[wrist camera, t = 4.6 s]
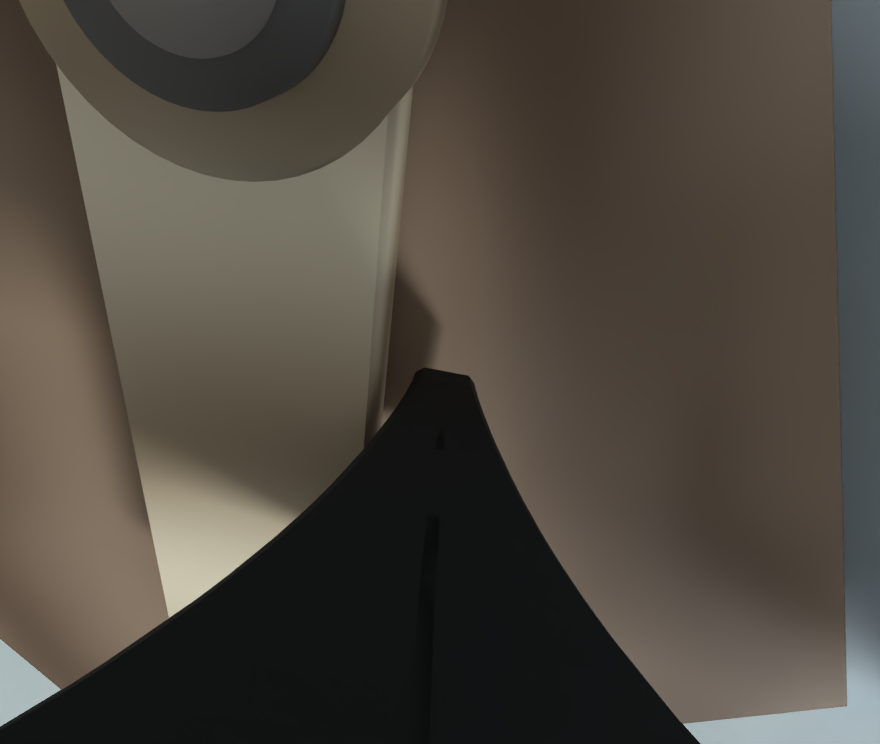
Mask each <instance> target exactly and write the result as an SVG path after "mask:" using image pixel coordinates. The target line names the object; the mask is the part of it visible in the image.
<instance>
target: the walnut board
mask: <svg viewBox="0 0 880 744" xmlns="http://www.w3.org/2000/svg"><path fill="white" fill-rule="evenodd" d="M424 367H425V368H431V369H436V370H441V371H447V372H452V373H457V374H463V375H468V376H470V378H471V379H472V381H473V382H474V384H475V388H476V392H477V395H478V398H479V401H480V404H481V407H482V410H483V413H484V416H485V418H486V421H487V423H488V426H489V428H490V431H491V433H492V436H493V438H494V440H495V443H496V445H497V447H498V449H499V452H500V454H501V456H502V458H503V460H504V462H505V464H506V466H507V469H508V471H509V473H510V475H511V477H512V479H513V481H514V483H515V485H516V487H517V489H518V491H519V493H520V495H521V497H522V499H523V501H524V502H525V504H526V506H527V508H528V510H529V511H530V513H531V515H532V517H533V519H534V520H535V522H536V524H537V526H538V527H539V529H540V531H541V533H542V534H543V536H544V538H545V539H546V541H547V543H548V544H549V546H550V548H551V549H552V551H553V552H554V554H555V556H556V557H557V559H558V560H559V562H560V564H561V565H562V567H563V568H564V570H565V571H566V573H567V574H568V576H569V577H570V579H571V580H572V582H573V583H574V585H575V586H576V588H577V589H578V591H579V592H580V594H581V595H582V596H583V598H584V599H585V601H586V602H587V603H588V605H589V606H590V608H591V609H592V610H593V612H594V613H595V614H596V616H597V617H598V619H599V620H600V621H601V623H602V624H603V626H604V627H605V628H606V630H607V631H608V632H609V634H610V635H611V637H612V638H613V639H614V640H615V642H616V643H617V644H618V645H619V647H620V648H621V649H622V650H623V652H624V653H625V654H626V655H627V656H628V658H629V659H630V660H631V661H632V663H633V664H634V665H635V666H636V668H637V669H638V670H639V671H640V673H641V674H642V675H643V676H644V677H645V679H646V680H647V681H648V682H649V684H650V685H651V686H652V687H653V689H654V690H655V691H656V692H657V694H658V695H659V696H660V697H661V699H662V700H663V701H664V702H665V703H666V705H667V706H668V707H669V708H670V710H671V711H672V712H673V713H674V715H675V716H676V717H677V718H678V719H679V721H680V722H681V723H682V724H684V723H693V722H702V721H712V720H721V719H730V718H740V717H749V716H759V715H768V714H777V713H787V712H796V711H805V710H815V709H824V708H834V707H843V706H847V681H846V638H845V594H844V550H843V506H842V462H841V418H840V374H839V330H838V286H837V242H836V198H835V154H834V110H833V66H832V23H831V0H448V2H447V8H446V14H445V18H444V21H443V25H442V28H441V32H440V35H439V39H438V41H437V44H436V46H435V48H434V51H433V53H432V55H431V58H430V60H429V62H428V63H427V65H426V67H425V69H424V70H423V72H422V74H421V76H420V77H419V79H418V80H417V82H416V83H415V84H414V85H413V92H412V103H411V114H410V125H409V135H408V146H407V157H406V168H405V179H404V190H403V200H402V211H401V222H400V233H399V244H398V255H397V265H396V276H395V287H394V298H393V309H392V320H391V331H390V341H389V352H388V363H387V374H386V385H385V396H384V406H383V417H382V425H383V424H384V423H385V422H386V420H387V419H388V418H389V417H390V415H391V414H392V412H393V411H394V409H395V408H396V407H397V405H398V404H399V402H400V401H401V399H402V398H403V396H404V394H405V393H406V391H407V389H408V388H409V386H410V384H411V382H412V380H413V377H414V374H415V372H417V371H418V370H420V369H422V368H424ZM168 618H169V616H168V611H167V606H166V601H165V596H164V591H163V586H162V581H161V576H160V572H159V567H158V562H157V557H156V552H155V547H154V542H153V537H152V532H151V527H150V522H149V518H148V513H147V508H146V503H145V498H144V493H143V488H142V483H141V478H140V473H139V468H138V464H137V459H136V454H135V449H134V444H133V439H132V434H131V429H130V424H129V419H128V414H127V409H126V405H125V400H124V395H123V390H122V385H121V380H120V375H119V370H118V365H117V360H116V355H115V351H114V346H113V341H112V336H111V331H110V326H109V321H108V316H107V311H106V306H105V301H104V297H103V292H102V287H101V282H100V277H99V272H98V267H97V262H96V257H95V252H94V247H93V243H92V238H91V233H90V228H89V223H88V218H87V213H86V208H85V203H84V198H83V193H82V189H81V184H80V179H79V174H78V169H77V164H76V159H75V154H74V149H73V144H72V139H71V134H70V130H69V125H68V120H67V115H66V110H65V105H64V100H63V95H62V90H61V85H60V80H59V76H58V71H57V66H56V63H55V61H54V60H53V59H52V57H51V56H50V55H49V53H48V52H47V50H46V49H45V47H44V45H43V44H42V42H41V40H40V39H39V37H38V35H37V34H36V32H35V30H34V29H33V27H32V26H31V24H30V22H29V20H28V18H27V16H26V14H25V12H24V10H23V8H22V6H21V4H20V2H19V0H0V639H1V640H2V641H3V642H5V643H6V644H7V645H8V646H10V647H11V648H12V649H13V650H14V651H16V652H17V653H18V654H19V655H20V656H22V657H23V658H24V659H25V660H26V661H28V662H29V663H30V664H31V665H32V666H34V667H35V668H36V669H37V670H38V671H40V672H41V673H42V674H43V675H44V676H46V677H47V678H48V679H49V680H51V681H52V682H53V683H54V684H55V685H57V686H58V687H59V688H60V689H61V690H62V689H64V688H65V687H67V686H68V685H70V684H72V683H73V682H75V681H77V680H78V679H80V678H81V677H83V676H84V675H86V674H87V673H89V672H90V671H92V670H94V669H95V668H97V667H98V666H100V665H101V664H103V663H104V662H106V661H107V660H109V659H110V658H112V657H113V656H115V655H116V654H118V653H119V652H121V651H122V650H123V649H125V648H126V647H128V646H129V645H131V644H132V643H134V642H135V641H136V640H138V639H139V638H141V637H142V636H144V635H145V634H147V633H148V632H150V631H151V630H152V629H154V628H155V627H157V626H158V625H160V624H161V623H163V622H164V621H165V620H167V619H168Z"/></svg>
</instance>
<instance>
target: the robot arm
mask: <svg viewBox="0 0 880 744" xmlns="http://www.w3.org/2000/svg"><path fill="white" fill-rule="evenodd" d="M0 744H700V743H699V742H698V741H697V740H696V738H695V737H694V736H693V735H692V734H691V733H690V732H689V731H688V729H687V728H686V727H685V726H684V725H683V724H682V723H681V722H680V721H679V719H678V718H677V717H676V716H675V715H674V713H673V712H672V711H671V710H670V708H669V707H668V706H667V705H666V703H665V702H664V701H663V700H662V699H661V697H660V696H659V695H658V694H657V692H656V691H655V690H654V689H653V687H652V686H651V685H650V684H649V682H648V681H647V680H646V679H645V677H644V676H643V675H642V674H641V673H640V671H639V670H638V669H637V668H636V666H635V665H634V664H633V663H632V661H631V660H630V659H629V658H628V656H627V655H626V654H625V653H624V652H623V650H622V649H621V648H620V647H619V645H618V644H617V643H616V642H615V640H614V639H613V638H612V637H611V635H610V634H609V632H608V631H607V630H606V628H605V627H604V626H603V624H602V623H601V621H600V620H599V619H598V617H597V616H596V614H595V613H594V612H593V610H592V609H591V608H590V606H589V605H588V603H587V602H586V601H585V599H584V598H583V596H582V595H581V594H580V592H579V591H578V589H577V588H576V586H575V585H574V583H573V582H572V580H571V579H570V577H569V576H568V574H567V573H566V571H565V570H564V568H563V567H562V565H561V564H560V562H559V560H558V559H557V557H556V556H555V554H554V552H553V551H552V549H551V548H550V546H549V544H548V543H547V541H546V539H545V538H544V536H543V534H542V533H541V531H540V529H539V527H538V526H537V524H536V522H535V520H534V519H533V517H532V515H531V513H530V511H529V510H528V508H527V506H526V504H525V502H524V501H523V499H522V497H521V495H520V493H519V491H518V489H517V487H516V485H515V483H514V481H513V479H512V477H511V475H510V473H509V471H508V469H507V466H506V464H505V462H504V460H503V458H502V456H501V454H500V452H499V449H498V447H497V445H496V443H495V440H494V438H493V436H492V433H491V431H490V428H489V426H488V423H487V421H486V418H485V416H484V413H483V410H482V407H481V404H480V401H479V398H478V395H477V392H476V388H475V384H474V382H473V381H472V379H471V378H470V376H468V375H463V374H457V373H452V372H447V371H441V370H436V369H431V368H425V367H424V368H422V369H420V370H418V371H417V372H415V374H414V377H413V380H412V382H411V384H410V386H409V388H408V389H407V391H406V393H405V394H404V396H403V398H402V399H401V401H400V402H399V404H398V405H397V407H396V408H395V409H394V411H393V412H392V414H391V415H390V417H389V418H388V419H387V420H386V422H385V423H384V424H383V425H382V427H381V428H380V429H379V431H378V432H377V433H376V434H375V436H374V437H373V438H372V439H371V441H370V442H369V443H368V444H367V446H366V447H365V448H364V449H363V450H362V451H361V453H360V454H359V455H358V456H357V457H356V458H355V459H354V460H353V461H352V462H351V463H350V465H349V466H348V467H347V468H346V469H345V470H344V471H343V472H342V473H341V474H340V475H339V476H338V477H337V479H336V480H335V481H334V482H333V483H332V484H331V485H330V486H329V487H328V488H327V489H326V490H325V491H324V492H323V493H322V494H321V495H320V496H319V497H318V498H317V499H316V500H315V501H314V502H313V503H312V504H311V505H310V506H309V507H308V508H307V509H305V510H304V511H303V512H302V513H301V514H300V515H299V516H298V517H297V518H296V519H295V520H293V521H292V522H291V523H290V524H289V525H288V526H287V527H286V528H284V529H283V530H282V531H281V532H280V533H279V534H278V535H277V536H275V537H274V538H273V539H272V540H271V541H269V542H268V543H267V544H266V545H265V546H263V547H262V548H261V549H260V550H258V551H257V552H256V553H255V554H253V555H252V556H251V557H250V558H249V559H247V560H246V561H245V562H244V563H242V564H241V565H240V566H239V567H237V568H236V569H235V570H234V571H233V572H231V573H230V574H229V575H228V576H226V577H225V578H224V579H222V580H221V581H220V582H218V583H217V584H216V585H214V586H213V587H212V588H211V589H209V590H208V591H207V592H205V593H204V594H202V595H201V596H200V597H198V598H197V599H196V600H194V601H193V602H192V603H190V604H189V605H187V606H186V607H184V608H183V609H181V610H180V611H179V612H177V613H176V614H174V615H173V616H171V617H170V618H168V619H167V620H165V621H164V622H163V623H161V624H160V625H158V626H157V627H155V628H154V629H152V630H151V631H150V632H148V633H147V634H145V635H144V636H142V637H141V638H139V639H138V640H136V641H135V642H134V643H132V644H131V645H129V646H128V647H126V648H125V649H123V650H122V651H121V652H119V653H118V654H116V655H115V656H113V657H112V658H110V659H109V660H107V661H106V662H104V663H103V664H101V665H100V666H98V667H97V668H95V669H94V670H92V671H90V672H89V673H87V674H86V675H84V676H83V677H81V678H80V679H78V680H77V681H75V682H73V683H72V684H70V685H68V686H67V687H65V688H64V689H62V690H60V691H59V692H57V693H55V694H54V695H52V696H50V697H49V698H47V699H45V700H44V701H42V702H40V703H39V704H37V705H35V706H34V707H32V708H30V709H29V710H27V711H25V712H24V713H22V714H20V715H19V716H17V717H16V718H14V719H12V720H11V721H9V722H7V723H6V724H4V725H2V726H1V727H0Z"/></svg>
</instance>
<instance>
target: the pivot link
mask: <svg viewBox="0 0 880 744" xmlns="http://www.w3.org/2000/svg"><path fill="white" fill-rule="evenodd" d="M19 2H20V4H21V6H22V8H23V10H24V12H25V14H26V16H27V18H28V20H29V22H30V24H31V26H32V27H33V29H34V30H35V32H36V34H37V35H38V37H39V39H40V40H41V42H42V44H43V45H44V47H45V49H46V50H47V52H48V53H49V55H50V56H51V57H52V59H53V60H54V61H55V63H56V66H57V71H58V76H59V80H60V85H61V90H62V95H63V100H64V105H65V110H66V115H67V120H68V125H69V130H70V134H71V139H72V144H73V149H74V154H75V159H76V164H77V169H78V174H79V179H80V184H81V189H82V193H83V198H84V203H85V208H86V213H87V218H88V223H89V228H90V233H91V238H92V243H93V247H94V252H95V257H96V262H97V267H98V272H99V277H100V282H101V287H102V292H103V297H104V301H105V306H106V311H107V316H108V321H109V326H110V331H111V336H112V341H113V346H114V351H115V355H116V360H117V365H118V370H119V375H120V380H121V385H122V390H123V395H124V400H125V405H126V409H127V414H128V419H129V424H130V429H131V434H132V439H133V444H134V449H135V454H136V459H137V464H138V468H139V473H140V478H141V483H142V488H143V493H144V498H145V503H146V508H147V513H148V518H149V522H150V527H151V532H152V537H153V542H154V547H155V552H156V557H157V562H158V567H159V572H160V576H161V581H162V586H163V591H164V596H165V601H166V606H167V611H168V616H169V618H170V617H171V616H173V615H174V614H176V613H177V612H179V611H180V610H181V609H183V608H184V607H186V606H187V605H189V604H190V603H192V602H193V601H194V600H196V599H197V598H198V597H200V596H201V595H202V594H204V593H205V592H207V591H208V590H209V589H211V588H212V587H213V586H214V585H216V584H217V583H218V582H220V581H221V580H222V579H224V578H225V577H226V576H228V575H229V574H230V573H231V572H233V571H234V570H235V569H236V568H237V567H239V566H240V565H241V564H242V563H244V562H245V561H246V560H247V559H249V558H250V557H251V556H252V555H253V554H255V553H256V552H257V551H258V550H260V549H261V548H262V547H263V546H265V545H266V544H267V543H268V542H269V541H271V540H272V539H273V538H274V537H275V536H277V535H278V534H279V533H280V532H281V531H282V530H283V529H284V528H286V527H287V526H288V525H289V524H290V523H291V522H292V521H293V520H295V519H296V518H297V517H298V516H299V515H300V514H301V513H302V512H303V511H304V510H305V509H307V508H308V507H309V506H310V505H311V504H312V503H313V502H314V501H315V500H316V499H317V498H318V497H319V496H320V495H321V494H322V493H323V492H324V491H325V490H326V489H327V488H328V487H329V486H330V485H331V484H332V483H333V482H334V481H335V480H336V479H337V477H338V476H339V475H340V474H341V473H342V472H343V471H344V470H345V469H346V468H347V467H348V466H349V465H350V463H351V462H352V461H353V460H354V459H355V458H356V457H357V456H358V455H359V454H360V453H361V451H362V450H363V449H364V448H365V447H366V446H367V444H368V443H369V442H370V441H371V439H372V438H373V437H374V436H375V434H376V433H377V432H378V431H379V429H380V428H381V427H382V417H383V406H384V396H385V385H386V374H387V363H388V352H389V341H390V331H391V320H392V309H393V298H394V287H395V276H396V265H397V255H398V244H399V233H400V222H401V211H402V200H403V190H404V179H405V168H406V157H407V146H408V135H409V125H410V114H411V103H412V92H413V85H414V84H415V83H416V82H417V80H418V79H419V77H420V76H421V74H422V72H423V70H424V69H425V67H426V65H427V63H428V62H429V60H430V58H431V55H432V53H433V51H434V48H435V46H436V44H437V41H438V39H439V35H440V32H441V28H442V25H443V21H444V18H445V14H446V8H447V2H448V0H19Z"/></svg>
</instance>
